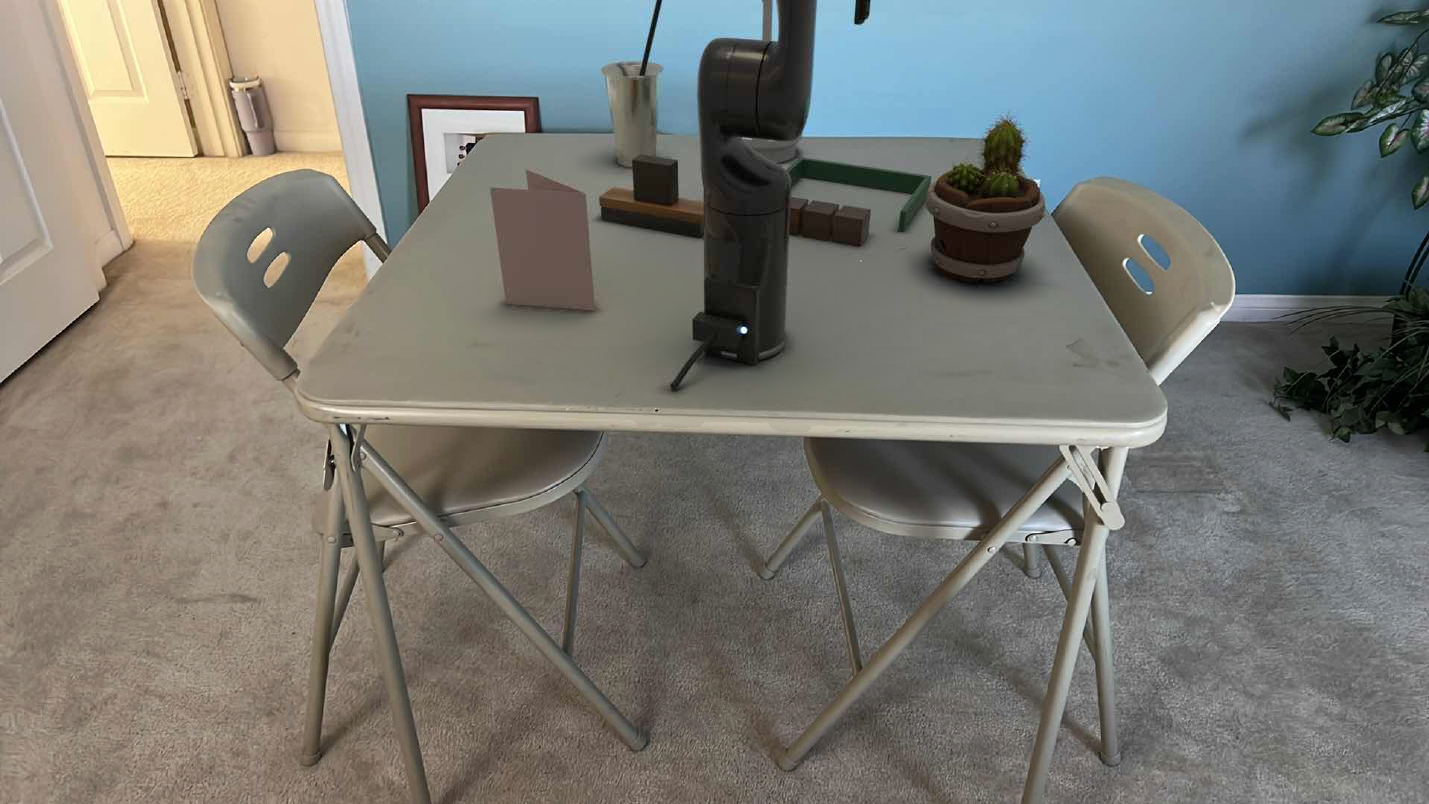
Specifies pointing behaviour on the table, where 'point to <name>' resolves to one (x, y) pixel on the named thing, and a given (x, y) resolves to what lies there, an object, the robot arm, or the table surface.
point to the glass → (635, 101)
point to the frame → (867, 181)
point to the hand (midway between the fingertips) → (829, 20)
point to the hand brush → (654, 200)
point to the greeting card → (544, 244)
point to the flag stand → (771, 148)
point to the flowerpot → (985, 211)
